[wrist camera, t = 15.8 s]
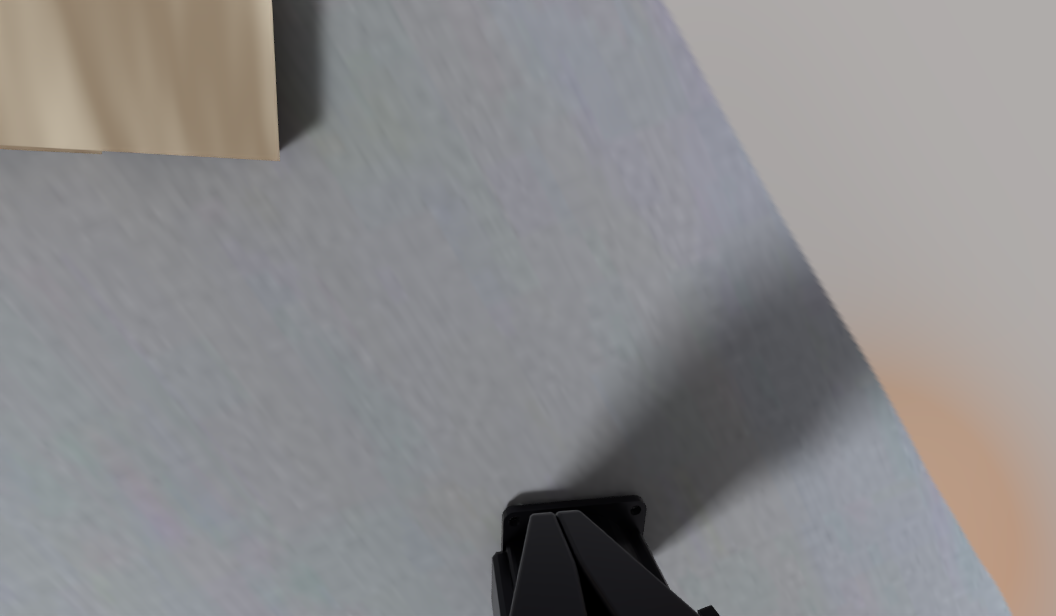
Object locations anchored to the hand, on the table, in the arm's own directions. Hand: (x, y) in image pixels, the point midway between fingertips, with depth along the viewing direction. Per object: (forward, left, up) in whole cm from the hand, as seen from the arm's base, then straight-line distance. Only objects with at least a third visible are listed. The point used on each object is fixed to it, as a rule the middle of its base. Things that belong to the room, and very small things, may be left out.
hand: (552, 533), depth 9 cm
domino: (+7, -8, -11) cm, 15 cm away
